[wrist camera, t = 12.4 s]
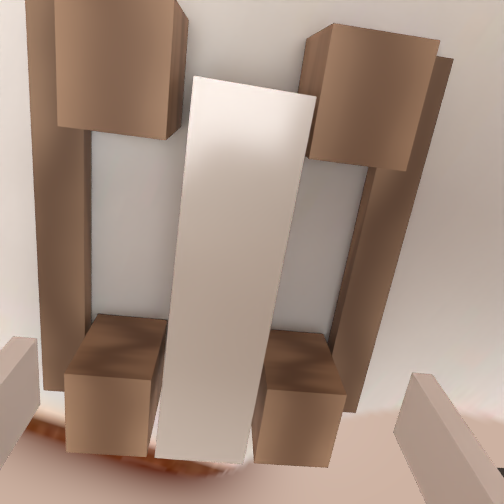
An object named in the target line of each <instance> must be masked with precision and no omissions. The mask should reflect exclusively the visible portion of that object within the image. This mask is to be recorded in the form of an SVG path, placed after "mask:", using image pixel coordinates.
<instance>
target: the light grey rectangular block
mask: <svg viewBox="0 0 504 504" xmlns="http://www.w3.org/2000/svg"><path fill="white" fill-rule="evenodd" d="M316 98H317V97H316V96H310V95H304V94H298V93H293V92H287V91H281V90H275V89H269V88H263V87H257V86H251V85H246V84H240V83H234V82H228V81H222V80H216V79H210V78H205V77H199V76H194V77H193V86H192V96H191V106H190V116H189V126H188V136H187V145H186V155H185V165H184V175H183V185H182V194H181V204H180V214H179V224H178V234H177V244H176V253H175V263H174V273H173V283H172V293H171V302H170V312H169V322H168V332H167V342H166V352H165V361H164V371H163V381H162V391H161V401H160V411H159V420H158V430H157V440H156V450H155V458H165V459H178V460H191V461H204V462H217V463H230V464H243V463H244V458H245V453H246V448H247V443H248V438H249V433H250V428H251V423H252V418H253V413H254V408H255V403H256V398H257V393H258V388H259V383H260V378H261V373H262V368H263V363H264V358H265V353H266V348H267V343H268V338H269V333H270V328H271V323H272V318H273V313H274V308H275V303H276V298H277V293H278V288H279V283H280V278H281V273H282V268H283V263H284V258H285V253H286V248H287V243H288V238H289V233H290V228H291V223H292V218H293V213H294V208H295V203H296V198H297V193H298V188H299V183H300V178H301V173H302V168H303V163H304V158H305V153H306V148H307V143H308V138H309V133H310V128H311V123H312V118H313V113H314V108H315V103H316Z"/></svg>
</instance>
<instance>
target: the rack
mask: <svg viewBox="0 0 504 504" xmlns="http://www.w3.org/2000/svg"><path fill="white" fill-rule="evenodd" d="M25 8H26V29H27V50H28V72H29V93H30V114H31V135H32V156H33V177H34V198H35V219H36V240H37V261H38V282H39V303H40V324H41V345H42V366H43V387H44V390H48V391H62V392H65V428H66V452H72V453H89V454H106V455H123V456H140V457H146V456H147V452H148V447H149V443H150V438H151V434H152V429H153V424H154V420H155V415H156V411H157V406H158V402H159V397H160V393H161V388H162V379H163V366H164V352H165V338H166V324H167V320H160V319H149V318H138V317H127V316H116V315H105V314H98V315H97V317H96V318H95V320H94V322H93V324H92V326H91V130H92V131H99V132H107V133H115V134H122V135H130V136H138V137H145V138H153V139H161V140H167V139H168V138H169V137H170V136H171V135H172V134H173V133H174V132H176V131H177V130H178V129H179V128H180V127H181V119H182V105H183V91H184V77H185V64H186V50H187V36H188V23H189V20H188V18H187V17H186V15H185V14H184V12H183V10H182V9H181V7H180V5H179V4H178V2H177V1H176V0H25ZM439 44H440V40H434V39H428V38H422V37H415V36H409V35H403V34H397V33H391V32H385V31H378V30H372V29H366V28H360V27H354V26H348V25H341V24H335V23H333V24H331V25H330V26H328V27H326V28H324V29H323V30H321V31H319V32H318V33H316V34H314V35H312V36H311V37H309V38H307V40H306V46H305V52H304V58H303V64H302V71H301V77H300V83H299V89H298V94H304V95H310V96H316V97H317V98H316V103H315V108H314V113H313V118H312V123H311V128H310V133H309V138H308V143H307V148H306V153H305V156H306V157H308V158H309V159H314V160H322V161H330V162H337V163H345V164H353V165H360V166H368V167H369V168H368V172H367V176H366V181H365V185H364V189H363V194H362V198H361V202H360V207H359V211H358V215H357V220H356V224H355V228H354V233H353V237H352V241H351V246H350V250H349V254H348V258H347V263H346V267H345V271H344V276H343V280H342V284H341V289H340V293H339V297H338V302H337V306H336V310H335V315H334V319H333V323H332V328H331V332H330V336H329V341H328V345H327V342H326V339H325V337H324V334H316V333H304V332H293V331H282V330H271V329H270V333H269V338H268V343H267V348H266V353H265V358H264V363H263V368H262V373H261V378H260V383H259V388H258V393H257V398H256V403H255V408H254V413H253V418H252V423H251V426H252V440H253V455H254V463H258V464H274V465H291V466H309V467H326V468H328V465H329V462H330V458H331V454H332V450H333V446H334V442H335V439H336V434H337V431H338V427H339V424H340V420H341V416H342V412H351V413H356V410H357V406H358V403H359V399H360V395H361V392H362V388H363V385H364V381H365V377H366V374H367V370H368V366H369V363H370V359H371V356H372V352H373V348H374V345H375V341H376V338H377V334H378V330H379V327H380V323H381V320H382V316H383V312H384V309H385V305H386V302H387V298H388V294H389V291H390V287H391V283H392V280H393V276H394V273H395V269H396V265H397V262H398V258H399V255H400V251H401V247H402V244H403V240H404V237H405V233H406V229H407V226H408V222H409V219H410V215H411V211H412V208H413V204H414V200H415V197H416V193H417V190H418V186H419V182H420V179H421V175H422V172H423V168H424V164H425V161H426V157H427V154H428V150H429V146H430V143H431V139H432V135H433V132H434V128H435V125H436V121H437V117H438V114H439V110H440V107H441V103H442V99H443V96H444V92H445V89H446V85H447V81H448V78H449V74H450V71H451V67H452V63H453V60H454V59H451V58H445V57H439V56H436V55H437V51H438V47H439Z"/></svg>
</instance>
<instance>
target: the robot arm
mask: <svg viewBox="0 0 504 504" xmlns="http://www.w3.org/2000/svg"><path fill="white" fill-rule="evenodd" d="M39 406H40V389H39V369H38V349H37V338H26V337H15V336H13V337H12V338H11V339H10V341H9V342H8V343H7V344H6V345H5V346H4V347H3V349H2V350H1V351H0V469H1V468H2V466H3V465H4V463H5V461H6V459H7V458H8V456H9V455H10V453H11V451H12V450H13V448H14V447H15V445H16V443H17V442H18V440H19V438H20V437H21V435H22V433H23V432H24V430H25V429H26V427H27V425H28V424H29V422H30V420H31V419H32V417H33V415H34V414H35V412H36V411H37V409H38V407H39ZM393 433H394V435H395V437H396V439H397V441H398V444H399V446H400V448H401V450H402V452H403V455H404V457H405V459H406V461H407V463H408V465H409V468H410V470H411V472H412V474H413V476H414V478H415V481H416V483H417V485H418V487H419V489H420V492H421V494H422V496H423V498H424V500H425V502H426V504H504V468H497V467H496V466H495V465H494V463H493V462H492V460H491V459H490V457H489V456H488V454H487V453H486V452H485V450H484V449H483V447H482V446H481V444H480V443H479V441H478V440H477V439H476V437H475V436H474V434H473V433H472V431H471V430H470V428H469V427H468V425H467V424H466V422H465V421H464V420H463V418H462V417H461V415H460V414H459V412H458V411H457V409H456V408H455V407H454V405H453V404H452V402H451V401H450V399H449V398H448V396H447V395H446V393H445V392H444V391H443V389H442V388H441V386H440V385H439V383H438V382H437V380H436V379H435V378H434V376H433V375H432V374H421V373H412V375H411V378H410V381H409V384H408V387H407V390H406V393H405V397H404V400H403V403H402V406H401V409H400V412H399V415H398V418H397V422H396V425H395V428H394V431H393Z"/></svg>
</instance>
